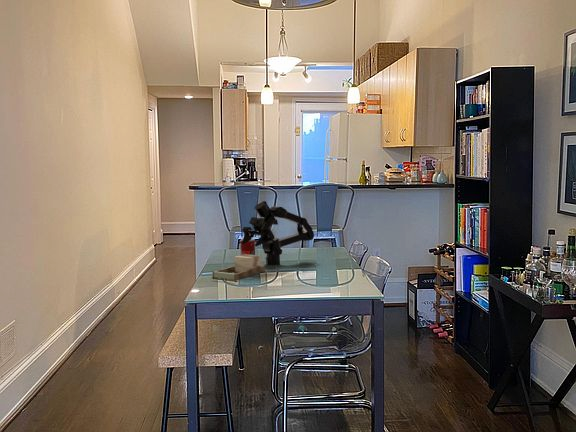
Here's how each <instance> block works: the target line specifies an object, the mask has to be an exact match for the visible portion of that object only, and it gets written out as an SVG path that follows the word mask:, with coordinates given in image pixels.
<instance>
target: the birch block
mask: <svg viewBox="0 0 576 432" xmlns="http://www.w3.org/2000/svg"><path fill="white" fill-rule="evenodd" d="M234 266H235V272H243V271H247V270H250V269H254V268H257V267H261V266H262V255H258V254H255V255H248V254H244V255H237V256H236V255H235V256H234Z"/></svg>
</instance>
